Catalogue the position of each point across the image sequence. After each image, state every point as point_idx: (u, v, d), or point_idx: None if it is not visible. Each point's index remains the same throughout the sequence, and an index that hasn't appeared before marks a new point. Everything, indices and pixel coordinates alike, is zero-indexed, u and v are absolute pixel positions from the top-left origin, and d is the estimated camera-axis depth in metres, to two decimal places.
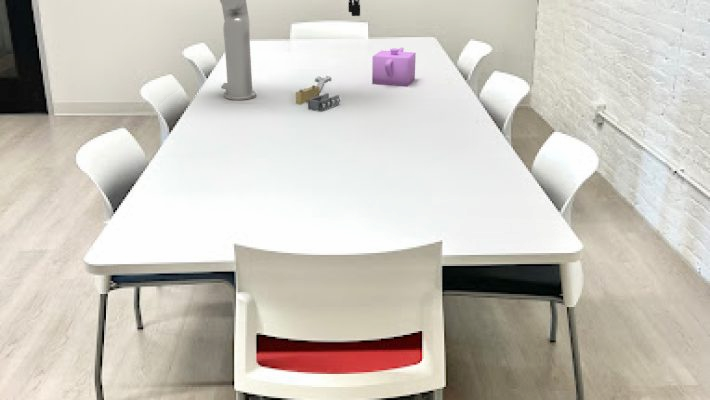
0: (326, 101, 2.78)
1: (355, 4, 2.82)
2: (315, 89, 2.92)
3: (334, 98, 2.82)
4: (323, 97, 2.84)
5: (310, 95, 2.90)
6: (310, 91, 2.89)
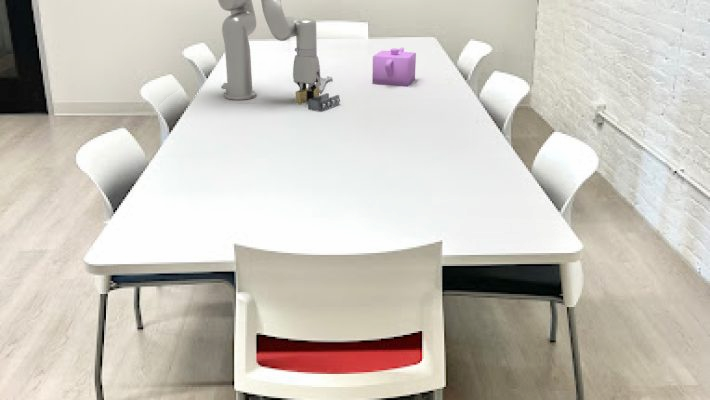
0: (326, 101, 2.78)
1: (312, 90, 2.88)
2: (315, 89, 2.92)
3: (334, 98, 2.82)
4: (323, 97, 2.84)
5: None
6: None
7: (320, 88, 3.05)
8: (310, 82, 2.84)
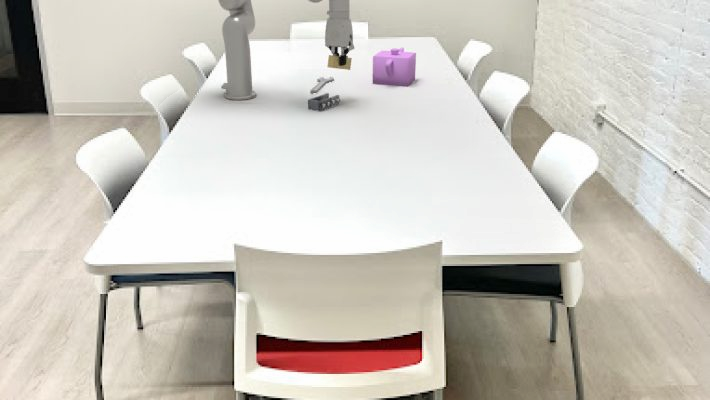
0: (326, 101, 2.78)
1: (345, 54, 2.82)
2: (347, 59, 2.87)
3: (334, 98, 2.82)
4: (323, 97, 2.84)
5: None
6: None
7: (316, 88, 3.05)
8: (343, 45, 2.78)
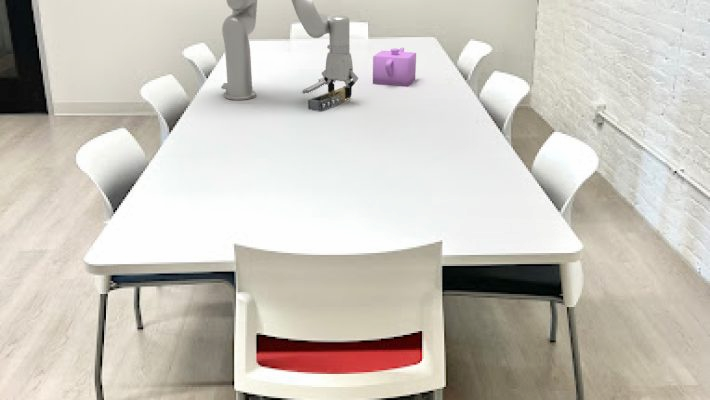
0: (326, 101, 2.78)
1: (350, 86, 2.85)
2: None
3: (334, 98, 2.82)
4: (323, 97, 2.84)
5: (342, 96, 2.89)
6: (342, 91, 2.89)
7: (310, 88, 3.05)
8: (343, 79, 2.83)
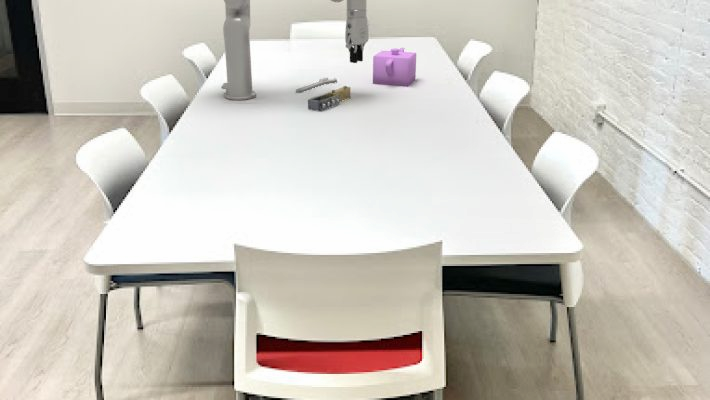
0: (326, 101, 2.78)
1: None
2: (346, 89, 2.91)
3: (334, 98, 2.82)
4: (323, 97, 2.84)
5: (342, 96, 2.89)
6: (342, 91, 2.89)
7: (305, 88, 3.06)
8: (367, 40, 2.93)
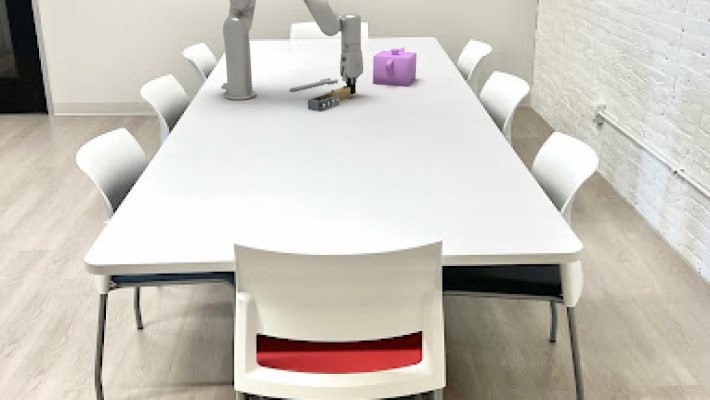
0: (326, 101, 2.78)
1: None
2: (346, 89, 2.91)
3: (334, 98, 2.82)
4: (323, 97, 2.84)
5: (342, 95, 2.89)
6: (341, 91, 2.88)
7: (300, 87, 3.06)
8: (362, 72, 2.94)
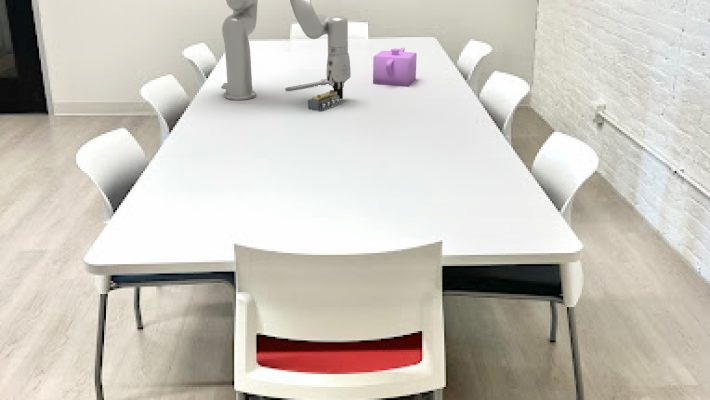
0: (326, 101, 2.78)
1: None
2: (333, 94, 2.84)
3: (334, 98, 2.82)
4: None
5: None
6: (328, 96, 2.81)
7: (297, 87, 3.07)
8: (349, 77, 2.88)
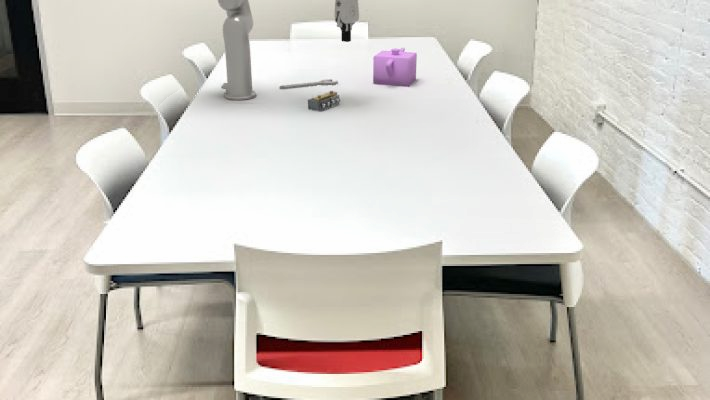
0: (326, 101, 2.78)
1: None
2: (333, 94, 2.84)
3: (334, 98, 2.82)
4: None
5: None
6: (328, 97, 2.81)
7: (292, 85, 3.09)
8: (357, 19, 2.84)
